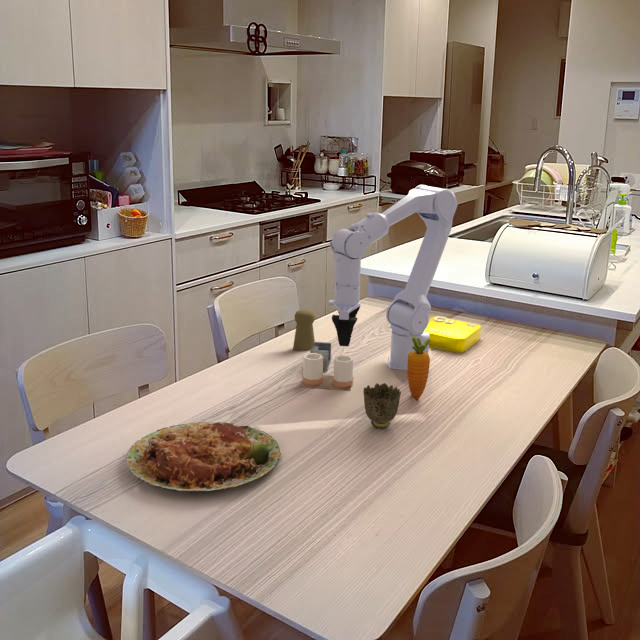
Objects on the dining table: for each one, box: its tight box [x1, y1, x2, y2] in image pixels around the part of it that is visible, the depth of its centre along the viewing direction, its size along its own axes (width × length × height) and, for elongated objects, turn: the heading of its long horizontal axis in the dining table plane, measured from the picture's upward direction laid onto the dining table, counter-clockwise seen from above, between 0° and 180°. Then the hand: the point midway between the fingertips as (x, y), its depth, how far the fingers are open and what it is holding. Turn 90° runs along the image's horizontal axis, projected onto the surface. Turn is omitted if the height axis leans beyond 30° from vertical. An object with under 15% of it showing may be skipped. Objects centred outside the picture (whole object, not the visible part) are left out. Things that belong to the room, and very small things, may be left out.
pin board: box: [301, 374, 354, 392], centre depth 161 cm, size 11×8×4 cm
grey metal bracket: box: [309, 341, 332, 372], centre depth 170 cm, size 11×6×6 cm, turn 82°
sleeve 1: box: [302, 352, 324, 385], centre depth 161 cm, size 4×4×6 cm
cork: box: [292, 309, 316, 352], centre depth 182 cm, size 6×6×11 cm
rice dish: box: [125, 421, 282, 492], centre depth 129 cm, size 28×28×5 cm
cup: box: [362, 382, 402, 430], centre depth 142 cm, size 8×7×8 cm
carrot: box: [406, 336, 431, 401], centre depth 153 cm, size 5×5×15 cm
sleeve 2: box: [333, 354, 354, 387], centre depth 160 cm, size 4×4×6 cm
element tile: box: [424, 315, 482, 354], centre depth 194 cm, size 15×15×5 cm
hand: (345, 340), depth 163 cm, fingers open, 7 cm apart
